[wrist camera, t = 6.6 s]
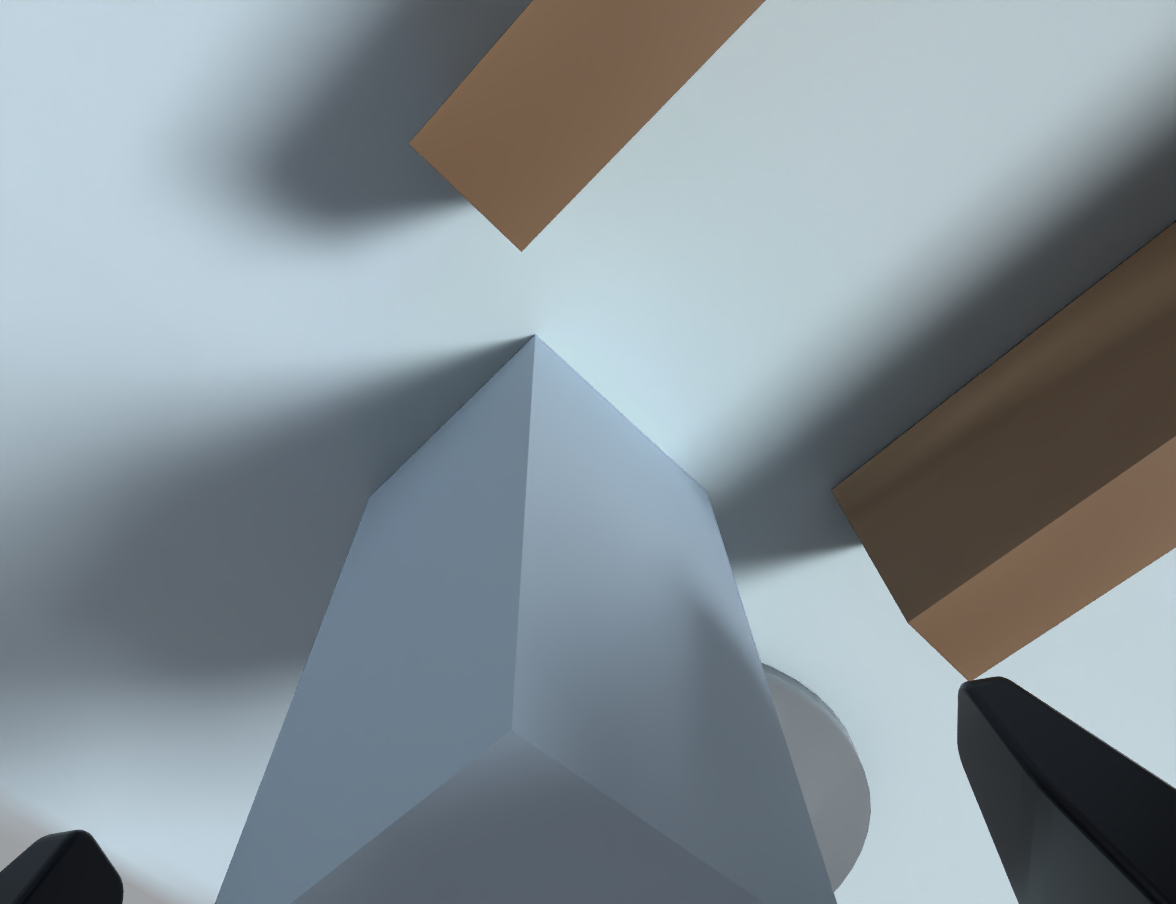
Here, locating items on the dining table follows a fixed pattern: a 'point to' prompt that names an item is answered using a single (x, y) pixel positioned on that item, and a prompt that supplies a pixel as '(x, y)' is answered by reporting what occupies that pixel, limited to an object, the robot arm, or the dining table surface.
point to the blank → (532, 685)
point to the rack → (946, 435)
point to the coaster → (824, 772)
